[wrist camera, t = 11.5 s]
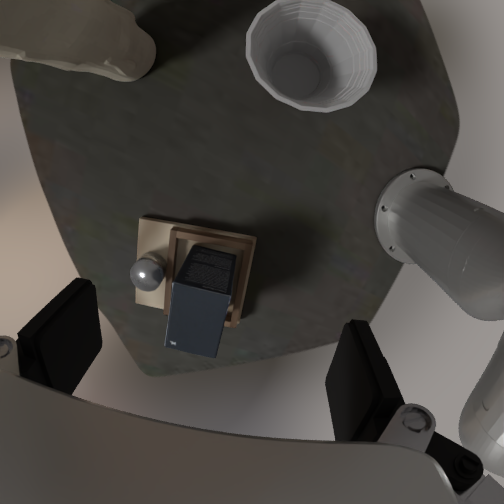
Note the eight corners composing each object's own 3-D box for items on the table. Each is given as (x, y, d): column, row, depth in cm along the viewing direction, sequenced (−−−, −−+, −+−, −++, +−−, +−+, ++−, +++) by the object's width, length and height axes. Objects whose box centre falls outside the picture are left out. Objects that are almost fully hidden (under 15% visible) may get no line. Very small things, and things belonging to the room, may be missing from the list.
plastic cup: (360, 69, 31) (402, 47, 20) (308, 137, 34) (332, 140, 23) (284, 16, 29) (295, -29, 18) (229, 84, 32) (216, 61, 21)
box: (224, 308, 41) (215, 360, 31) (182, 297, 41) (162, 347, 31) (238, 253, 38) (232, 296, 29) (192, 242, 38) (171, 281, 28)
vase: (97, 91, 32) (-121, 82, 4) (101, 31, 29) (-85, -41, 1) (162, 82, 32) (-50, 10, 4) (165, 19, 29) (11, -122, 1)
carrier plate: (256, 236, 39) (256, 248, 35) (239, 319, 43) (238, 336, 39) (142, 216, 38) (130, 225, 34) (137, 299, 42) (128, 314, 39)
